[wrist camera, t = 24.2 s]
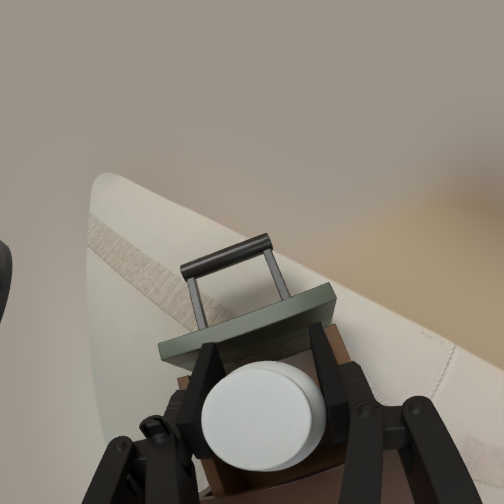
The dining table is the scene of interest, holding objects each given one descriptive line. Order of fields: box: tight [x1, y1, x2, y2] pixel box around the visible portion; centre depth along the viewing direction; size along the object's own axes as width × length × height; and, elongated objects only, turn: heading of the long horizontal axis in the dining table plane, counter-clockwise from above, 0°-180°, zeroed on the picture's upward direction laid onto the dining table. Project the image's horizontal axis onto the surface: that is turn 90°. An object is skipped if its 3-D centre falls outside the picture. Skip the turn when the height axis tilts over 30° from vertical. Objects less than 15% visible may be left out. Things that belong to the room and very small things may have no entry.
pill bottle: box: [201, 361, 327, 471], centre depth 13 cm, size 5×5×10 cm
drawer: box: [158, 233, 351, 496], centre depth 18 cm, size 19×11×6 cm, turn 18°
